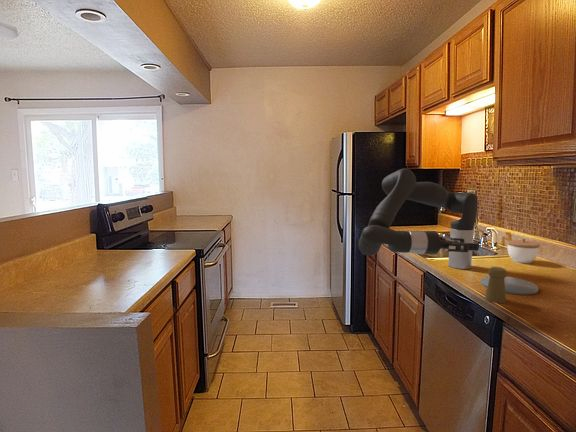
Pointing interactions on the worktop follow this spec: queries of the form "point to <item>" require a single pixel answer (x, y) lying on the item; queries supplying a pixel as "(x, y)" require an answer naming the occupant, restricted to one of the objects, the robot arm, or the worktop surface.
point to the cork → (496, 285)
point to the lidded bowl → (523, 250)
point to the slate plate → (515, 285)
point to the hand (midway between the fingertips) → (470, 244)
